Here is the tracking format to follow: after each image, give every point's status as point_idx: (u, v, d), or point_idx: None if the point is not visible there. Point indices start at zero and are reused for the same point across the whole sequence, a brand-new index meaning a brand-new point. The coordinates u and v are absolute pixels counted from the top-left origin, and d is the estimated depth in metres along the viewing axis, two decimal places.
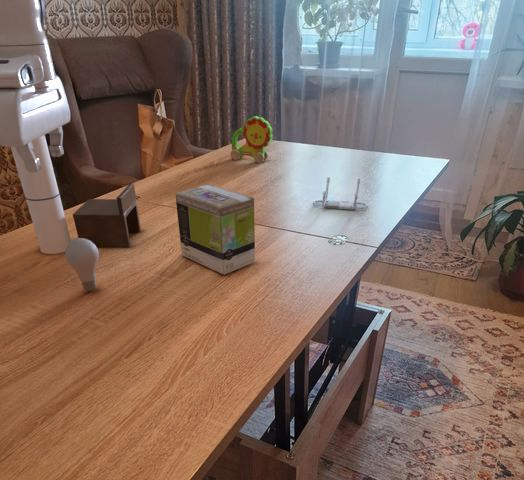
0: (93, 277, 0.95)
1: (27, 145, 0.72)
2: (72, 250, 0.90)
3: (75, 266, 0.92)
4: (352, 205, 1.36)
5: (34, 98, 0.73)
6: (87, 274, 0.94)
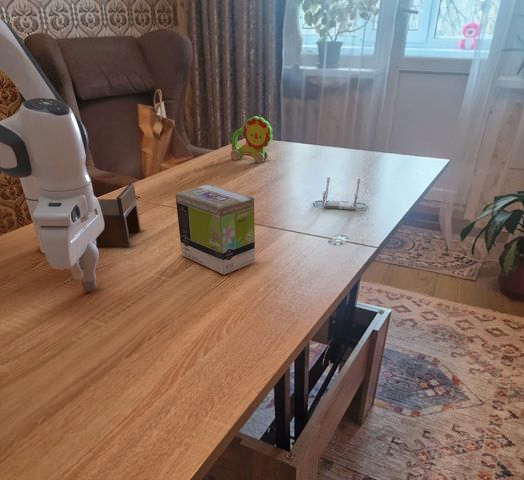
0: (93, 277, 0.95)
1: (75, 261, 0.88)
2: None
3: None
4: (352, 205, 1.36)
5: (78, 224, 0.88)
6: (87, 274, 0.94)
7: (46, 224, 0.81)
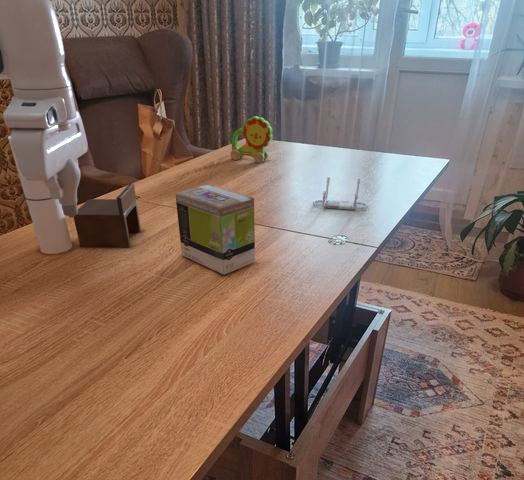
0: (74, 200, 0.86)
1: (53, 176, 0.79)
2: None
3: None
4: (352, 205, 1.36)
5: (57, 134, 0.79)
6: (67, 196, 0.85)
7: (18, 125, 0.72)
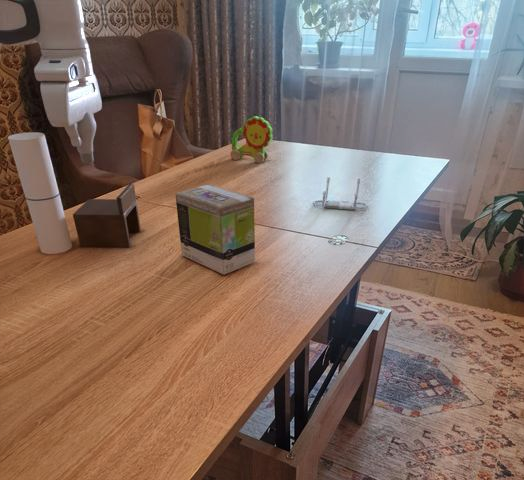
0: (91, 149, 1.01)
1: (74, 125, 0.94)
2: None
3: None
4: (352, 205, 1.36)
5: (77, 90, 0.94)
6: (85, 144, 1.00)
7: (46, 78, 0.87)
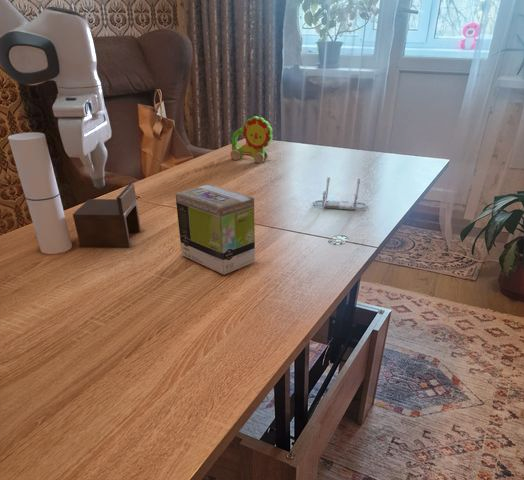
0: (102, 175, 1.10)
1: (87, 154, 1.03)
2: None
3: None
4: (352, 205, 1.36)
5: (90, 122, 1.03)
6: (97, 171, 1.09)
7: (64, 114, 0.96)
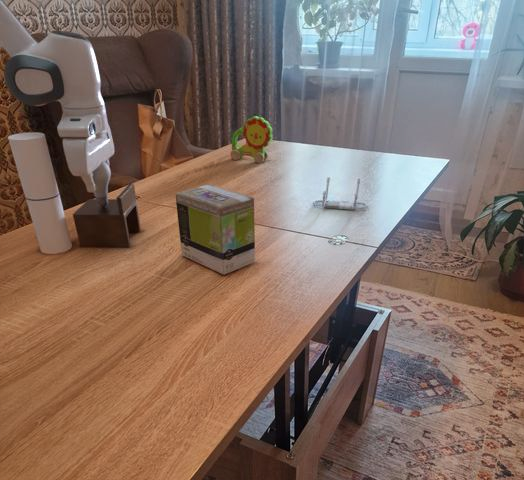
0: (106, 193, 1.13)
1: (89, 174, 1.04)
2: None
3: None
4: (352, 205, 1.36)
5: (94, 141, 1.05)
6: (101, 190, 1.11)
7: (68, 135, 0.98)
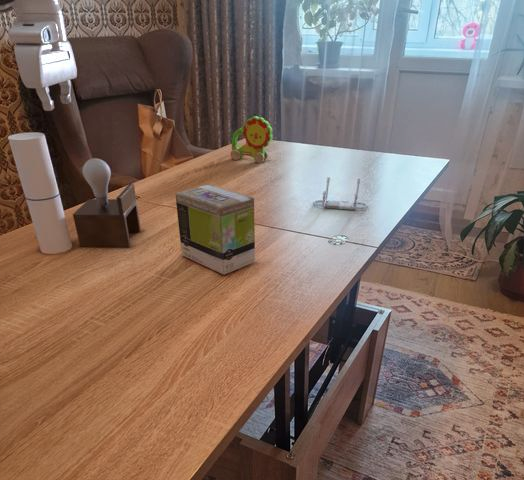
0: (106, 193, 1.13)
1: (45, 89, 0.98)
2: (89, 166, 1.08)
3: (91, 182, 1.09)
4: (352, 205, 1.36)
5: (51, 54, 0.98)
6: (101, 190, 1.11)
7: (20, 40, 0.91)
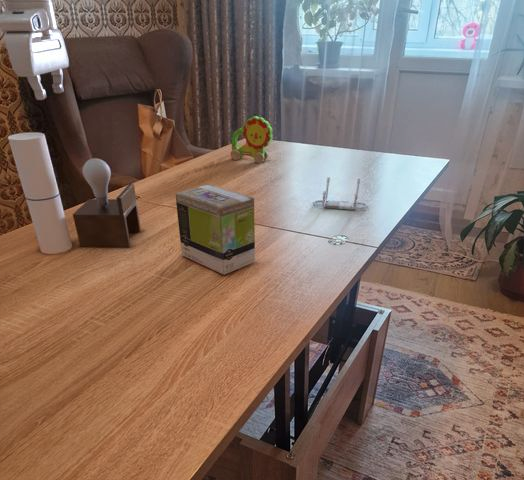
0: (106, 193, 1.13)
1: (36, 77, 0.98)
2: (89, 166, 1.08)
3: (91, 182, 1.09)
4: (352, 205, 1.36)
5: (41, 43, 0.98)
6: (101, 190, 1.11)
7: (10, 28, 0.91)
